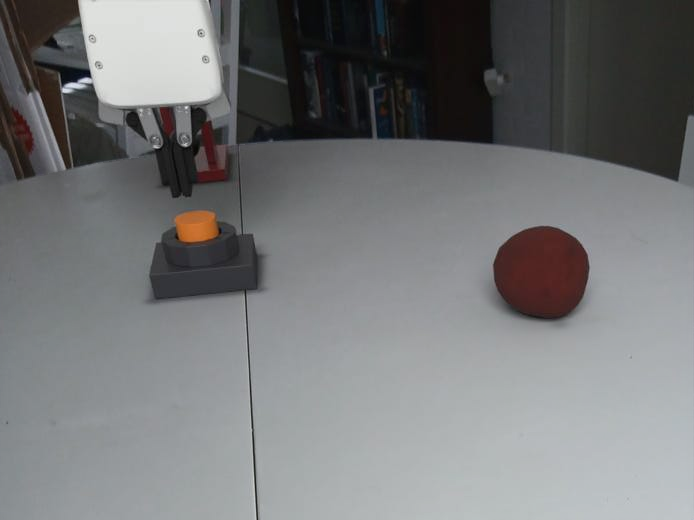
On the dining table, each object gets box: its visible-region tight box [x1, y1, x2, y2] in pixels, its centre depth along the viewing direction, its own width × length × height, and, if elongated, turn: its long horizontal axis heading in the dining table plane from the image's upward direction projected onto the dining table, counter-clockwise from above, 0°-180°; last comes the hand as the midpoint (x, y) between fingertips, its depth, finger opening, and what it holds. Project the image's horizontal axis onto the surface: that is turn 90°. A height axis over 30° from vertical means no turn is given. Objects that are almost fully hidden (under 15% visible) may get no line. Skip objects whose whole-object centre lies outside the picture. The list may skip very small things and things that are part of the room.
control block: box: [148, 220, 258, 300], centre depth 90 cm, size 9×8×4 cm
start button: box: [174, 210, 219, 242], centre depth 88 cm, size 4×4×2 cm
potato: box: [492, 225, 591, 319], centre depth 81 cm, size 7×8×7 cm
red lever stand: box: [158, 107, 230, 186], centre depth 112 cm, size 10×7×12 cm
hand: (182, 192), depth 86 cm, fingers closed
